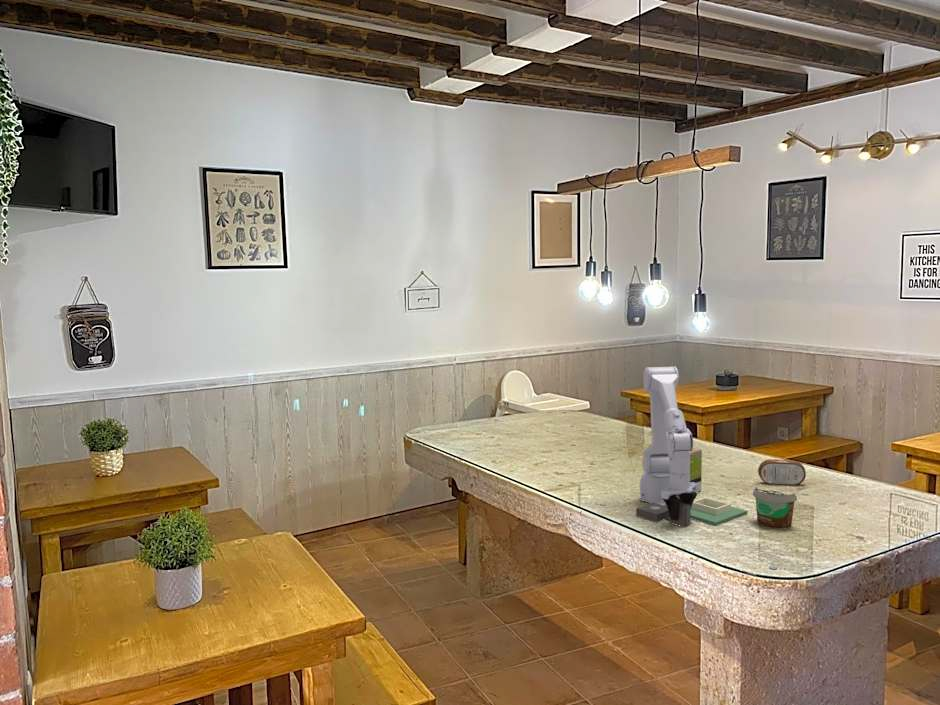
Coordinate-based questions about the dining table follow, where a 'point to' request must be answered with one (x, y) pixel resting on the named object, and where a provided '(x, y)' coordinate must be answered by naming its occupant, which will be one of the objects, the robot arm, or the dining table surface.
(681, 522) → the plug
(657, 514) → the grey flat block
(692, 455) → the tea box
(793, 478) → the tin
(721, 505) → the board
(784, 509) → the food container
